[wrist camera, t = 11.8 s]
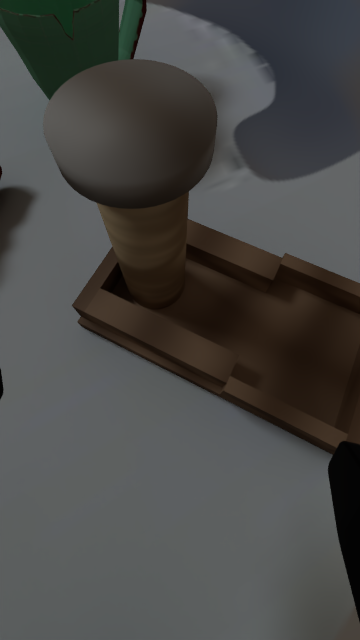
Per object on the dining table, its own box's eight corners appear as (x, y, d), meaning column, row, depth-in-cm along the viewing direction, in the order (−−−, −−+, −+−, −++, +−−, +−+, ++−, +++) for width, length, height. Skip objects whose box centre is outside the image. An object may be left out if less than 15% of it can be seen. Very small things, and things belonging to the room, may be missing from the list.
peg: (163, 336, 22) (142, 215, 9) (99, 289, 23) (6, 127, 11) (212, 275, 23) (250, 104, 11) (150, 235, 25) (121, 39, 12)
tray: (376, 317, 23) (403, 301, 20) (334, 455, 20) (360, 459, 17) (150, 221, 26) (147, 196, 24) (81, 326, 23) (67, 311, 20)
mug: (92, 162, 29) (49, 33, 19) (21, 120, 31) (-49, -15, 22) (182, 81, 33) (182, -59, 24) (114, 48, 35) (89, -92, 26)
